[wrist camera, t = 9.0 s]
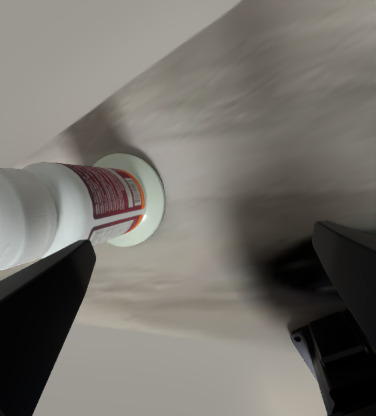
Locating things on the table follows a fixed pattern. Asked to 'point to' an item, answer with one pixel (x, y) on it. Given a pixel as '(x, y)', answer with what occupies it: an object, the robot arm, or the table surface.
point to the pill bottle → (64, 208)
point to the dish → (152, 192)
